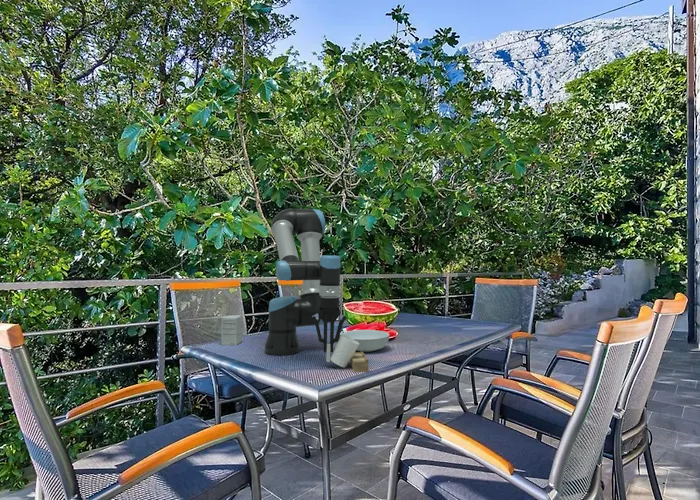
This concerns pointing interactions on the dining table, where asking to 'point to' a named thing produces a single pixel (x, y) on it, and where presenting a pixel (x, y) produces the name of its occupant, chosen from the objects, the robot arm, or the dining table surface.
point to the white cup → (344, 350)
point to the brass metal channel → (359, 362)
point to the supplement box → (231, 330)
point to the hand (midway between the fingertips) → (328, 361)
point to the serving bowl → (369, 339)
